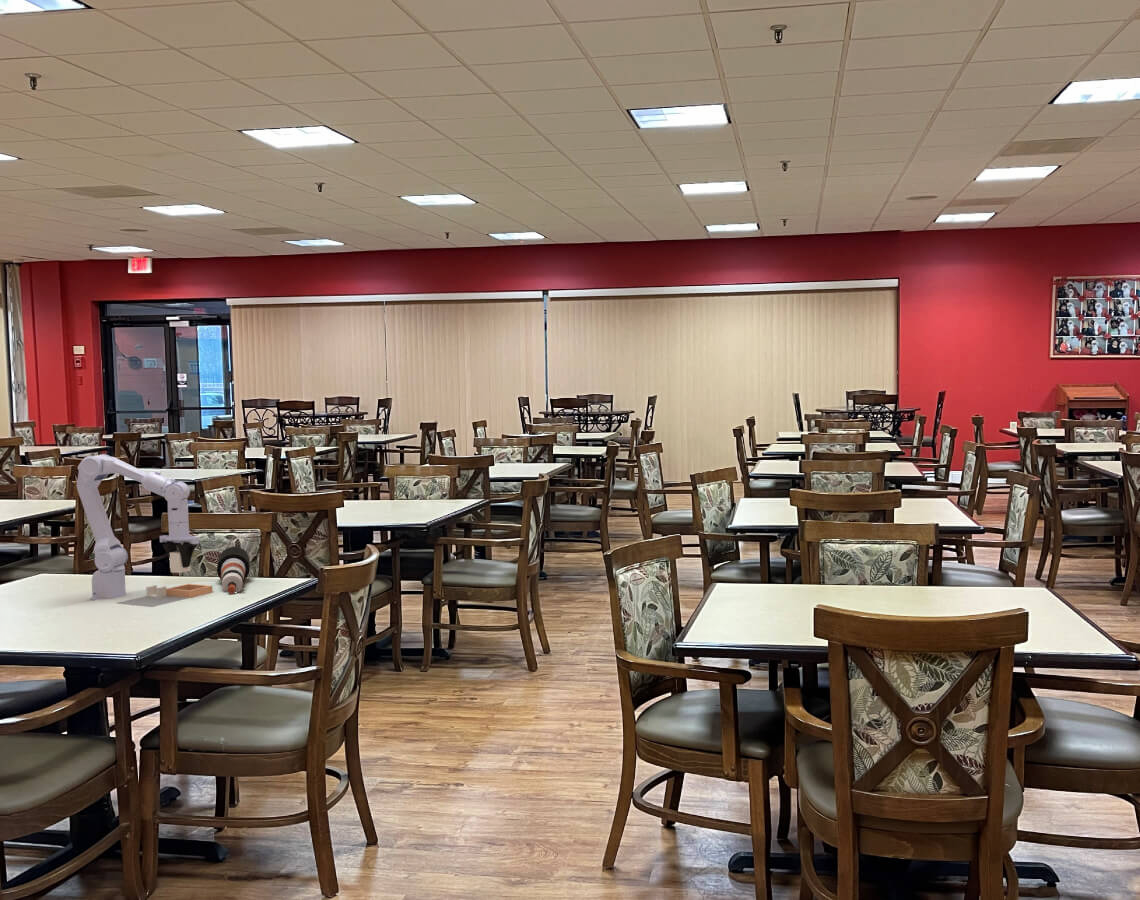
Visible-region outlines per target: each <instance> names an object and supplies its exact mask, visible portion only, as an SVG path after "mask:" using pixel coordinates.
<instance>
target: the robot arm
mask: <svg viewBox="0 0 1140 900" xmlns="http://www.w3.org/2000/svg"><path fill="white" fill-rule="evenodd" d="M77 470H78V475H77V481H76V490H77V493H78V496H79V499H80V501H81V504H82V507H83V510H84V512H85V516H86V518H87V520H88V521H87V522H88V525H89V527H90V529H91V532H92V535H93V539H94V540H95V544H94V547H93V552H94V565H95V567H96V568H97V569H98V570H96V571H94V573H93V574H92V577H91V595H92V597H91V598H89V600H90V601H98V600H102V599H107V600H108V599H117V598H118V599H119V598H123V597H126V596H127V592H126V569H125V564H126V563H127V561H128V558H129V555H128V552H127V550H126V549H125V548H124V547H123V546H122V544H121V541H120V540H119V539H118V538H117V537H116V536H115V534H114V532H113V529H112V526H111V523H110V520H109V518H108V514H107V511H106V508H105V506H104V504H103V501H102V497H101V495H100V491H99V489H98V488H99V486H100V484H101V482H102V481H103V479H105V477H107V476H108V475H109V474H118V475H121V476H122V477H125V478H128V479H131V480H133V481H136V482H139V483H141V485H142V488H143V489H144V490H147V491H149V492H152V493H154V494H156V495H159V496H161V497H164V499H165V501H167V520H168V534H167V535H164V534H163V535H159V543H163V544H162V548H163V549H164V550H165V553H167V557H168V558H169V560H170V552H175V551H177V545H178V548H179V551H180V554H181V560H182V566H183V568H185V567H189V566H190V567H191V561H192V557H193V554H194V552H195V549H196V548H197V545H198V544H200V537H199V536H193V535H190V525H189V524H190V522H189V506H188V505H189V504H188V498H189V496H190V494H191V490H190V486H189V485H188V484H187V483H185V481H176V479H175V478H173V477H171V478H170V477H168V476H164V475H162V472H161V471H159V470H158V471H154V470H153V471H149V472H146V471H143V470H141V469H139V468H137V467H135V466H134V465H131V464H129V463H127V462H126V461H123V460H120V459H119V458H118V457H115V456H110V455H108V454H106V453H102V454H99V455H98V454H97V455H88V456H85V457H84V458H83V459H82V460H81V461H80V462H79V464H78V466H77Z"/></svg>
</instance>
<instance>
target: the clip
mask: <svg viewBox="0 0 1140 900" xmlns="http://www.w3.org/2000/svg"><path fill="white" fill-rule="evenodd" d="M145 588H146V590H145V591H146V596H147V597H151V598H162V597H166V596H167V593H166V589H167V586H165V585H163V586H160V587H159V586H157V585H151V586H147V587H145Z"/></svg>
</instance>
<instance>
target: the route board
mask: <svg viewBox="0 0 1140 900" xmlns="http://www.w3.org/2000/svg"><path fill="white" fill-rule="evenodd" d="M208 594H209V593H207V594H206V595H208ZM204 595H205V594H203V595H202V596H204ZM199 596H201V595H199ZM199 596H198V597H199ZM196 597H197V596H195V597H194V598H196ZM191 598H193V597H191ZM191 598H190V599H191ZM187 599H189V598H187V597H177V596H166V597H162V598H151V597H147V595H146V596H145V595H144V596H140V597H136V598H132V599H127V600H123V601H119V602H116V604H120V605H130V606H137V607H147V608H154V607H159V606H162V605H166V604H170V603H174V602H180V601H182V600H187Z"/></svg>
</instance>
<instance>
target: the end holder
mask: <svg viewBox="0 0 1140 900" xmlns="http://www.w3.org/2000/svg"><path fill="white" fill-rule="evenodd" d="M166 593H167V596H177V597H187V598H188V599H191V597H192V598H196V597H199V595H200V596H204V595H208V594H211V593H214V591H213V585H210V584H209V585H208V584H198V583H197V584H195V583H186V584H182V585H177V586H171V587H168V588H167V587H166ZM207 593H208V594H207ZM203 594H204V595H203ZM195 596H196V597H195Z"/></svg>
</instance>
